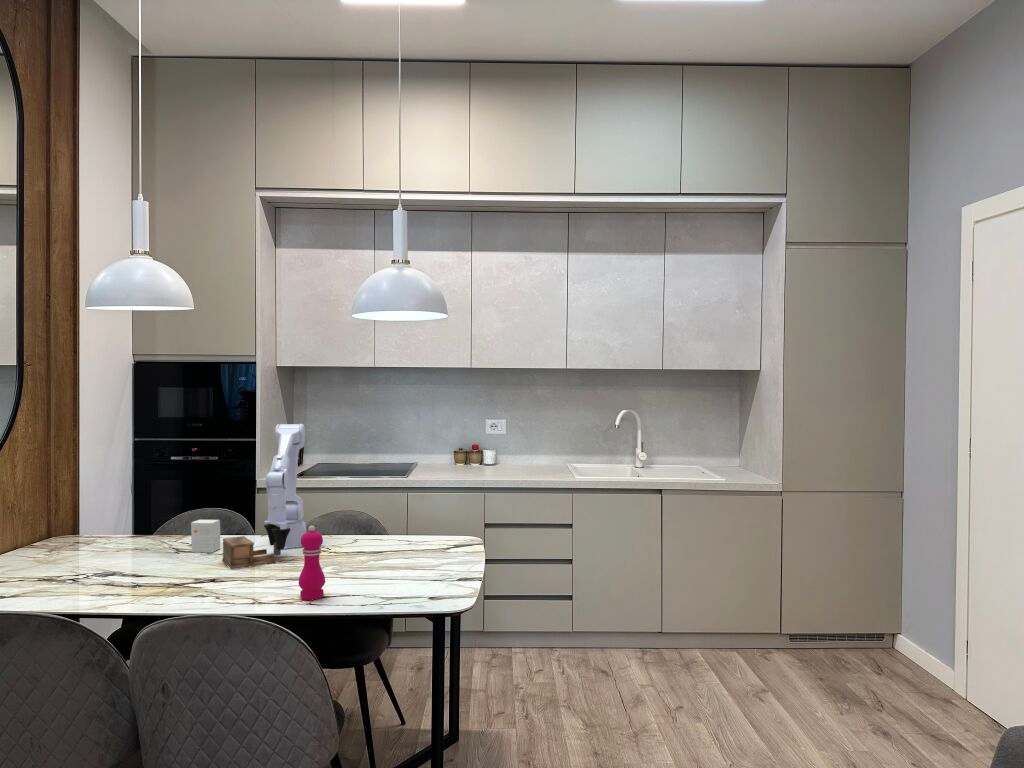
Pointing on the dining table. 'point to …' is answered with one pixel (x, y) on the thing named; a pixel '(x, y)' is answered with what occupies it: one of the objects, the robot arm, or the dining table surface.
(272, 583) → the dining table surface
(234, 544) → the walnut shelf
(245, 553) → the tan piece
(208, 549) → the small box
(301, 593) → the pepper mill
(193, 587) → the dining table surface
